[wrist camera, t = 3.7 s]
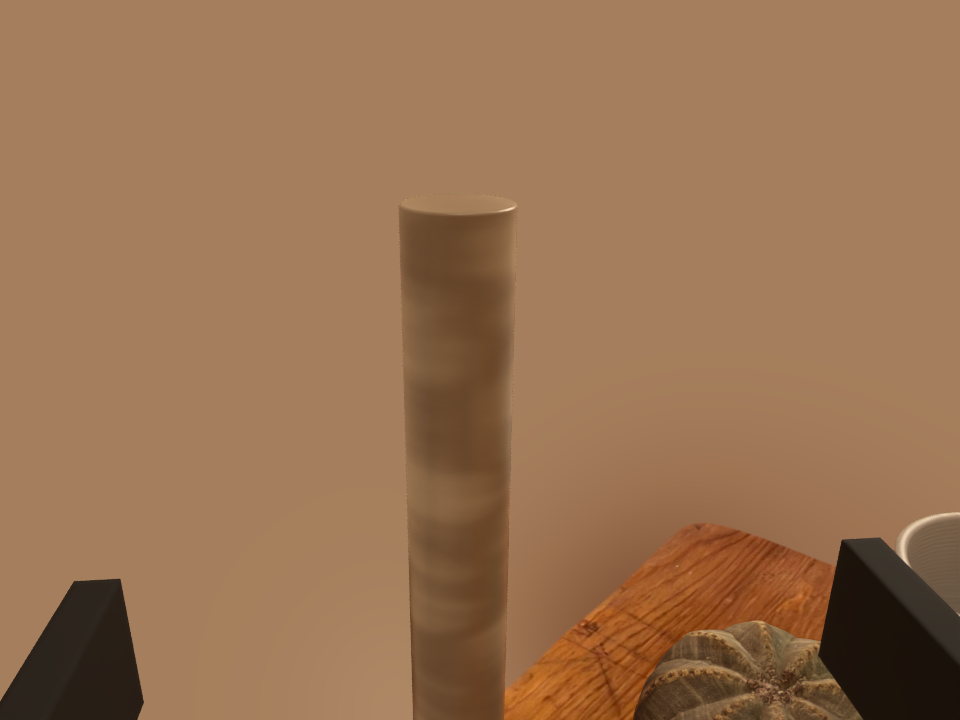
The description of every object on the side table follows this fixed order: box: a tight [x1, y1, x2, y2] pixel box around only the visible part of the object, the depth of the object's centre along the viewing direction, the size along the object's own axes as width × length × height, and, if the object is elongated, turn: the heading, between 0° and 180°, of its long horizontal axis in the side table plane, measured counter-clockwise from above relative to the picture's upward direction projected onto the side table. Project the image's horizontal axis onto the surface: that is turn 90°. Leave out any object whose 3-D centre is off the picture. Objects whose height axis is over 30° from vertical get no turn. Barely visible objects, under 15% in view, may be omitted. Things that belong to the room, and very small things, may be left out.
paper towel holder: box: [399, 193, 517, 720], centre depth 26 cm, size 6×5×30 cm
